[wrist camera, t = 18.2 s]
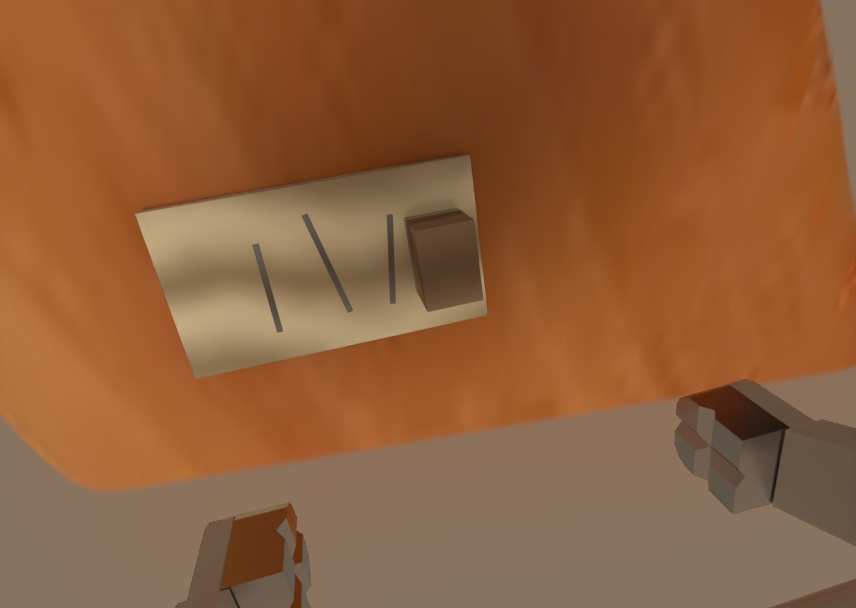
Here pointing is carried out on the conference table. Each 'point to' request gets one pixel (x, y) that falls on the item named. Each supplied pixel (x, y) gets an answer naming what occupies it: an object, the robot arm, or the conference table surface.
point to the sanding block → (444, 258)
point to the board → (302, 263)
